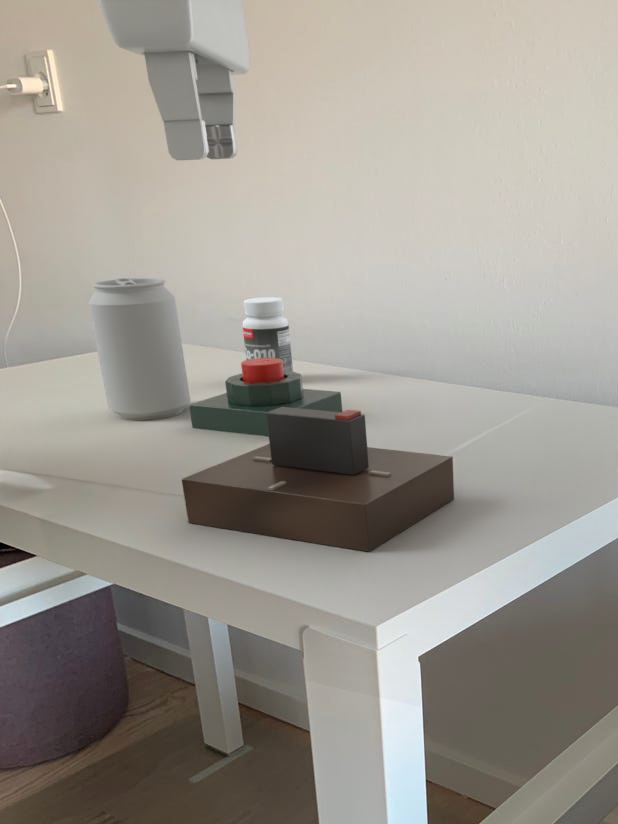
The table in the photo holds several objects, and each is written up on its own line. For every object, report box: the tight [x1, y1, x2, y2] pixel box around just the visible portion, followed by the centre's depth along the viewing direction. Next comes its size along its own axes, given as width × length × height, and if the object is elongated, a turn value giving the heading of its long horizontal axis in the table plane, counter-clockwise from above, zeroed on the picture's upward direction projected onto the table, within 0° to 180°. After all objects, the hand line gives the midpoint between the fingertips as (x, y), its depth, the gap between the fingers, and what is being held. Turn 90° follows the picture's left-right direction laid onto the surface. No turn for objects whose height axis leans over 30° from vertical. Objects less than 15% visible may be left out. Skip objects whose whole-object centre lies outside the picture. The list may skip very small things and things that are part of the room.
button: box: [240, 358, 285, 383], centre depth 88 cm, size 4×4×2 cm
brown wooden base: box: [181, 443, 455, 553], centre depth 67 cm, size 14×11×3 cm
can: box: [87, 277, 191, 421], centre depth 92 cm, size 8×8×12 cm
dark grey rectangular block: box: [266, 407, 369, 475], centre depth 65 cm, size 6×2×4 cm, turn 64°
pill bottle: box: [242, 296, 294, 372], centre depth 105 cm, size 5×5×8 cm
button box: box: [188, 370, 343, 438], centre depth 89 cm, size 10×9×4 cm
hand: (207, 159), depth 56 cm, fingers open, 8 cm apart
